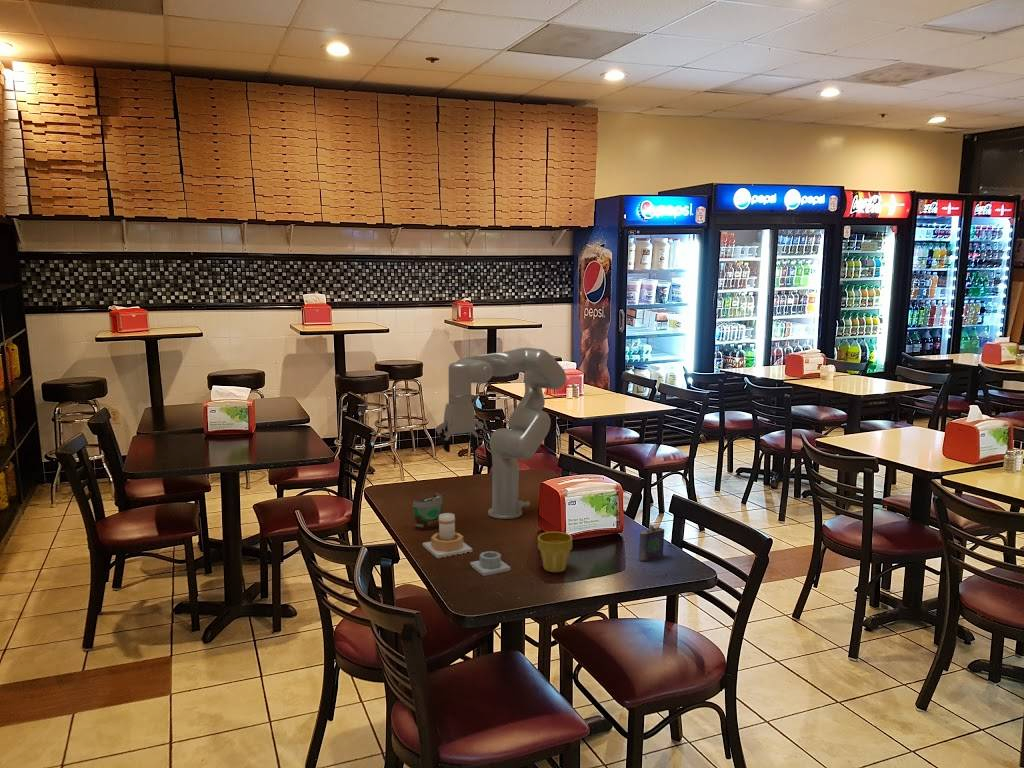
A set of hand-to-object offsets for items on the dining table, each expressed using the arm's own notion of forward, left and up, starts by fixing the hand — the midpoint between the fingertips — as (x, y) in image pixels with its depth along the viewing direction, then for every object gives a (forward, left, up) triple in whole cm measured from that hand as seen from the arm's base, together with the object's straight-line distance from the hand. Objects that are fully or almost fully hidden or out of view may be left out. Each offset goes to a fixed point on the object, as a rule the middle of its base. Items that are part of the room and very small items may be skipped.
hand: (460, 449), depth 252 cm
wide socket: (+11, +14, -28) cm, 33 cm away
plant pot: (-11, +43, -28) cm, 53 cm away
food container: (+7, -8, -28) cm, 30 cm away
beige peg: (+11, +14, -27) cm, 32 cm away
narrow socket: (+6, +34, -28) cm, 45 cm away
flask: (-42, +50, -28) cm, 71 cm away
